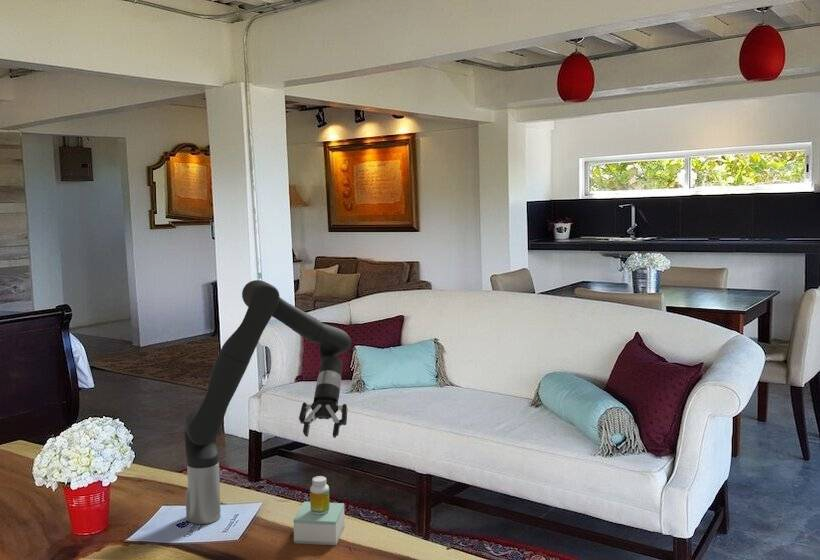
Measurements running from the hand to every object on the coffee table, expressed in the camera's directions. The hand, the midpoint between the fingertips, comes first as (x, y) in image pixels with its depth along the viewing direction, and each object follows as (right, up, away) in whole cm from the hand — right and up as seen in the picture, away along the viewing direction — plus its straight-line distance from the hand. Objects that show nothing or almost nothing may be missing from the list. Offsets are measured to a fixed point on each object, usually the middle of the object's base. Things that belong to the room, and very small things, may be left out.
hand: (320, 436), depth 225 cm
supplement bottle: (+1, -20, -8) cm, 22 cm away
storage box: (+1, -27, -8) cm, 28 cm away
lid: (+1, -21, -8) cm, 22 cm away
